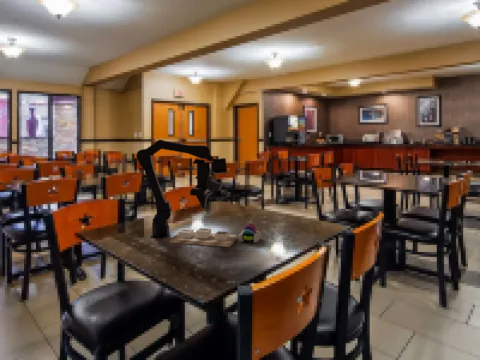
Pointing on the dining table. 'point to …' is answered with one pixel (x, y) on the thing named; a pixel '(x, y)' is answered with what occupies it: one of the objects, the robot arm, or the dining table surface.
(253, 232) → the rainbow lobed toy
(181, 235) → the tile one
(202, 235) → the tile two
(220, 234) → the tile three
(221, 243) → the tan curved board
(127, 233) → the dining table surface
